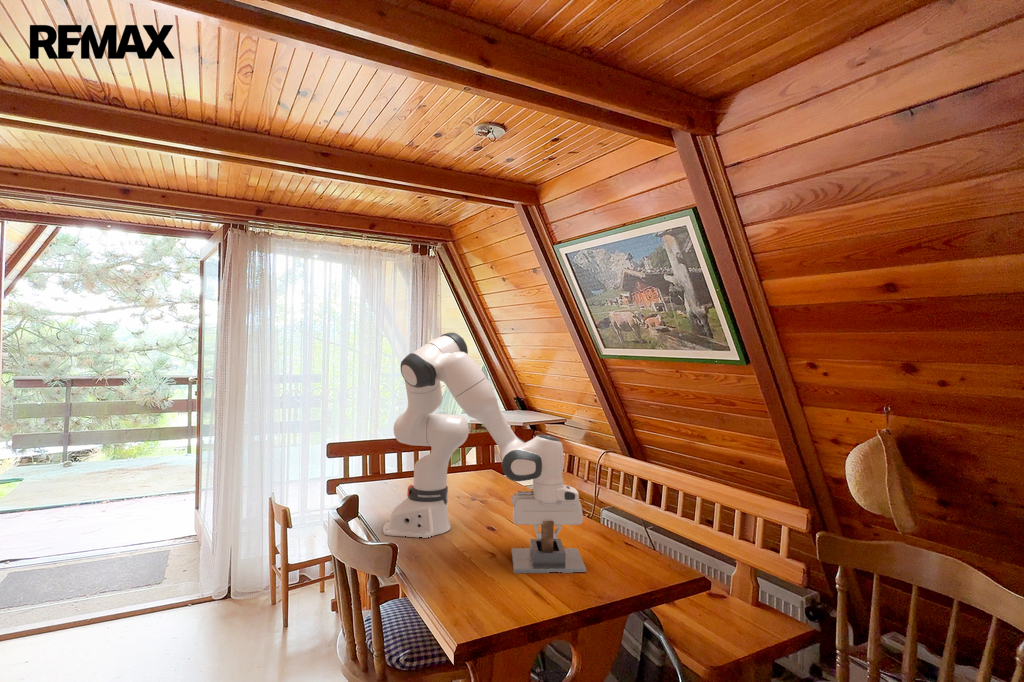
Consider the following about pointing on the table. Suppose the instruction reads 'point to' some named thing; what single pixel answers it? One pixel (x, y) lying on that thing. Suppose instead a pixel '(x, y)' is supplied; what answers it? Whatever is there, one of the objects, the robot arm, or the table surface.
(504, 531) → the table surface
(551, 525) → the walnut wedge
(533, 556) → the grey socket base
